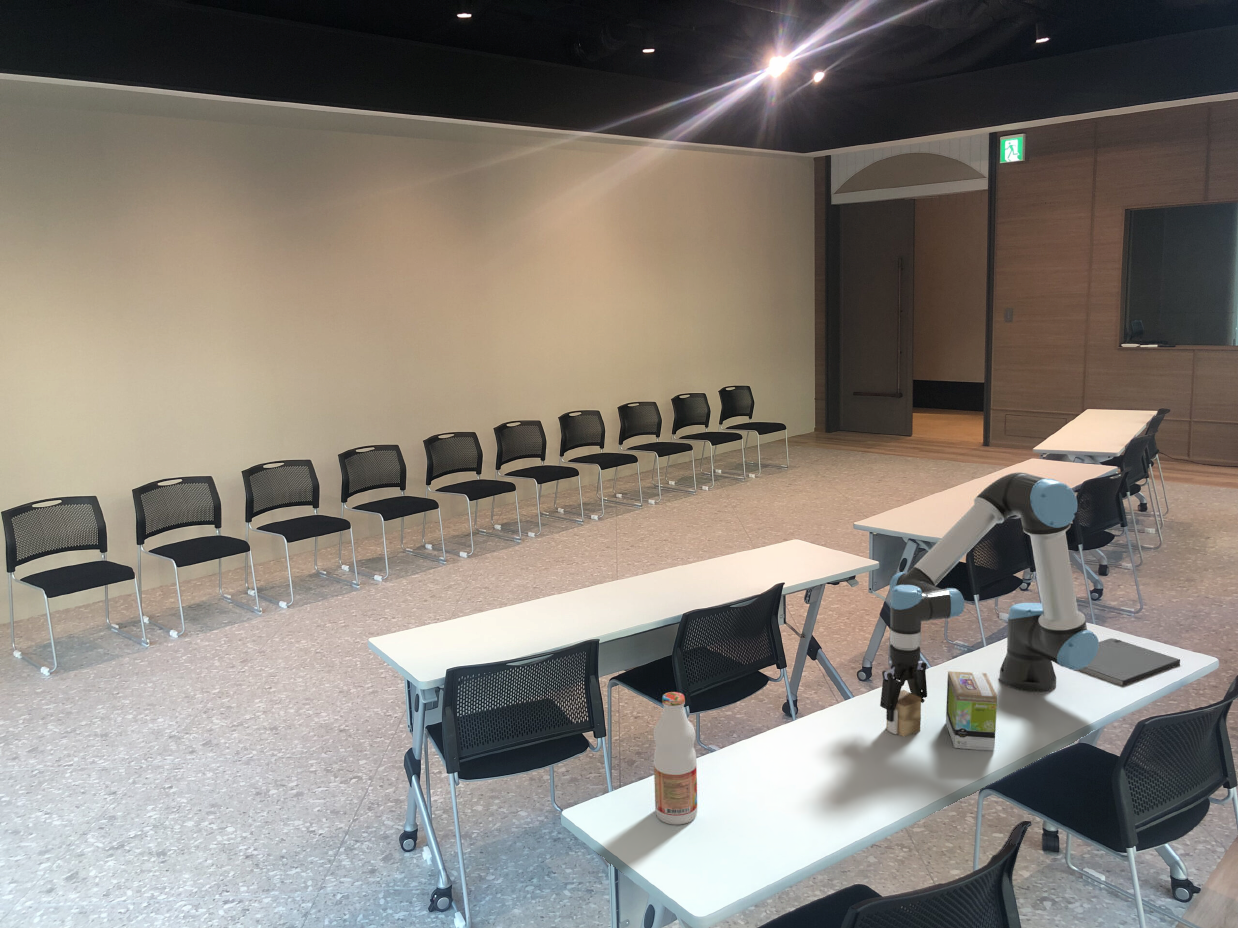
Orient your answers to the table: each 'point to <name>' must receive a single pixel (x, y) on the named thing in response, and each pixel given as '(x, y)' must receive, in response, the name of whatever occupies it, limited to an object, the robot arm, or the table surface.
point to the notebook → (1127, 662)
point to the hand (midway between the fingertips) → (903, 727)
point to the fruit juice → (675, 763)
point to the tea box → (971, 710)
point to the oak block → (908, 713)
